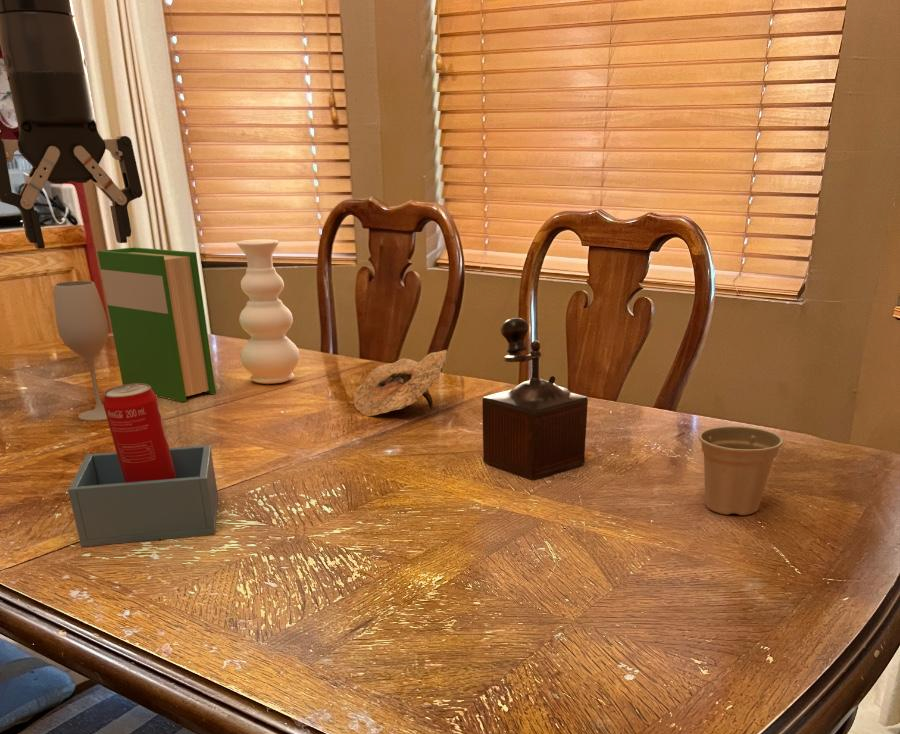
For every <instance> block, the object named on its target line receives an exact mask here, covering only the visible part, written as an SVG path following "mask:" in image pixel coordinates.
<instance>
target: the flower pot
mask: <svg viewBox="0 0 900 734" xmlns="http://www.w3.org/2000/svg"><path fill="white" fill-rule="evenodd" d="M698 440H699V442H700V443H701V452H702V454H703V470H704V472H703V473H704V504H705V507H706V508H707V509H708V510H710V511H712V512H714V513H717V514H719V515H725V516H728V515H731V514H736V515H739V516H747V515H751V514H754V513H756V512H757V511H758V510H759V509H760V506H761V501H762V498H763V495H764V491H765V488H766V484H767V481H768V478H769V474H770V472H771V468H772V465H773V462H774V459H775V458H776V457H777V455H778V453H779V450H780V448H782V446H783V445H784V438H783V437H782V436H781V435H780V434H778V433H776V432H773V431H772V430H771V431H770V430H767V429H763V428H758V427H752V426H739V425H736V426H735V425H725V426H716V427H715V426H714V427H709V428H706V429H703V430H702V431H700V432H699V433H698Z"/></svg>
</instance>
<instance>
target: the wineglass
mask: <svg viewBox="0 0 900 734" xmlns="http://www.w3.org/2000/svg"><path fill="white" fill-rule="evenodd" d="M53 305H54V316H55V324H56V329H57V331H58V335H59V337H60V339H61V340H62V342H63V343H64V345H65V346H66V347H67V348H69V350H71V352H73V353H75V354H76V355H78V356H79V357H81V358H83V359H84V360H85V362H86V363H87V365H88V370H89V373H90V378H91V383H92V388H93V393H94V398H95V405H94V408H93V409H90V410H86V411H83V412H80V413H79V414H78V415H77V416H78V420H81V421H84V422H102V421H101V420H103V421H108V420H107V416H106V412H105V409H104V403H102V399H101V396H100V391H99V387H98V385H99V384H98V381H97V376H96V370H95V367H94V366H95V365H94V363H95V358H96V357H97V356H98V355H99V354H100V352H101V351H102V350H103V349H104V347H105V345H106V343H107V342H108V339H109V333H110V332H109V330H110V329H109V323H108V318H107V315H106V311H105V309H104V305H103V302H102V299H101V297H100V293H99V291H98V289H97V286H96V283H95V282H94V281H91V280H71V281H61V282H57V283H54V284H53Z"/></svg>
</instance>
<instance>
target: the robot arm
mask: <svg viewBox="0 0 900 734" xmlns="http://www.w3.org/2000/svg"><path fill="white" fill-rule="evenodd" d="M72 3H73V2H72V0H0V51H1V55H2V59H3V63H4V68H5V74H6V76H7V82H8V86H9V91H10V96H11V101H12V104H13V109H14V114H15V119H16V122H17V123H16V124H17V128H18V135H17V137H16V139H8V138H7V139H5V138H0V202H1V203H2V204H7V205H10V206H14V207H16V208H17V209H18V210H19V212H20V216H21V221H22V225H23V230H24V234H25V238H26V240H27V241H28V243H30V244H33V245H34V247H35V249H37V250H40V249H41V250H42V249H46V246H45V241H44V236H43V231H42V227H41V223H40V217H39V214H38V213H39V212H38V210H37V209H35V206H34V205H35V203H36V201H37V199H38V197H39V196H40V194H41V192H42V191H43V189H44V187H45V185H46V183H47V182H48V183H51V184H54V185H58V184H66V183H69V182H71V183H77V184H86V183H88V182H89V181H91V182H92V183H93V184H94V185H95V186H96V187H97V188H98V190H100V191H101V193H103V194H104V195H105V196H106V198H107V199H108V200H109V201H110V202H111V205H109V207H110V208H109V209H110V213H111V219H112V224H113V230H114V236H115V240H116V242H117V243H119V244H127V243H128V238H131V236H132V226H131V221H130V216H129V209H128V205H129V203H130V202H132V201H134V200H136V199H139V198H142V196H143V193H144V192H143V188H142V187H143V186H142V182H141V178H140V173H139V169H138V165H137V160H136V156H135V151H134V147H133V143H132V139H131V138H130V137H129V136H127V135H120V136H116V137H115V138H103V137H102V136H101V134H100V131H99V129H98V124H97V120H96V114H95V109H94V104H93V103H94V102H93V98H92V97H93V96H92V91H91V86H90V80H89V75H88V63H87V59H86V57H85V53H84V49H83V44H82V40H81V36H80V33H79V30H78V26H77V24H76V23H77V22H76V18H75V13H74V9H73V4H72ZM106 150H107V151H108V152H109V153H110V155H111V157H112V158H113V159H114V160H116V161H118V164H119V169H120V172H121V177H122V182H123V185H124V188H122V189H120V188H119V186H118V185H116V183H114V181H113V179H112V178H111V177H110V176H109V174H107V172H106V171H105V170H104V169H103V168H102V167H101V165H100V163H101V161H102V159H103V157H104V154H105V152H106ZM17 151H18V152H19V154H20V155H21V156H22V157H23V158H24V159H25V160H26V161H27V163H28V164H30V166H32V167H31V168H30V171H29V173H28V175H27V177H26V179H25V181H24V185H23V187H22V189H21V191H20V193H19V194H18V193H16V192H13V190H12V184H11V178H10V172H9V165H8V163H11V162H12V161H13V160H14V155H15V152H17Z"/></svg>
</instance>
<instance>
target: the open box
mask: <svg viewBox="0 0 900 734" xmlns="http://www.w3.org/2000/svg"><path fill="white" fill-rule="evenodd" d="M169 449H170V453H171V457H172V461H173V465H174V469H175V474H176V478H177V479H165V480H152V481H140V482H128V483H125V481H124V477H123V473H122V470H121V466H120V463H119V459H118V455H117V452H116V451H113V452H111V451H110V452H101V453H99V452H98V453H87V454H85V456H84V458H83V460H82V461H81V464H80V466H79V468H78V470H77V471H76V473H75V475H74V477H73V478H72V481H71V483H70V485H69V487H68V489H67V492H68V496H69V500H70V505H71V509H72V513H73V517H74V522H75V526H76V530H77V535H78V539H79V544H80V547H81V548H84V547H85V548H86V547H94V546H95V547H96V546H106V545H118V544H127V543H137V542H139V543H140V542H148V541H159V540H168V539H169V540H171V539H179V538H191V537H202V536H212V535H213V536H214V535H216V529H217V528H216V527H217V514H218V504H219V503H218V502H219V492H218V486H217V480H216V473H215V467H214V461H213V453H212V446H211V444H206V445H205V444H204V445H192V446H178V447H169Z"/></svg>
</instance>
